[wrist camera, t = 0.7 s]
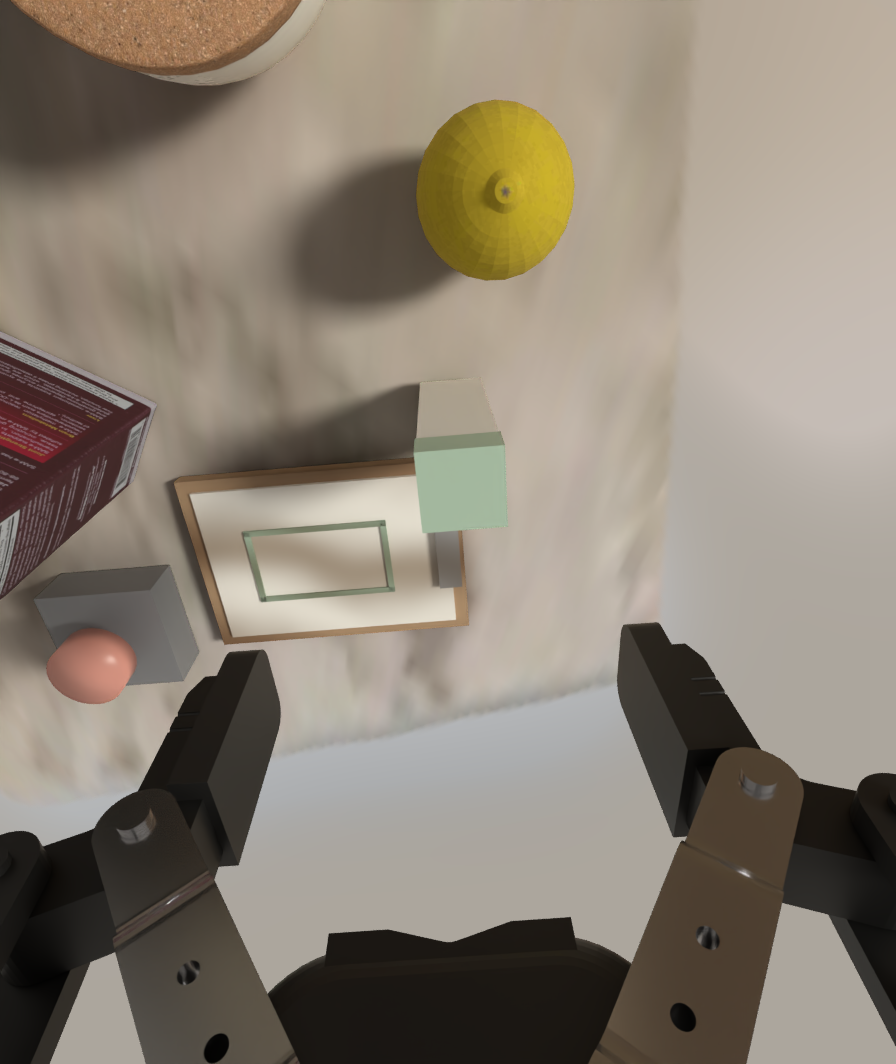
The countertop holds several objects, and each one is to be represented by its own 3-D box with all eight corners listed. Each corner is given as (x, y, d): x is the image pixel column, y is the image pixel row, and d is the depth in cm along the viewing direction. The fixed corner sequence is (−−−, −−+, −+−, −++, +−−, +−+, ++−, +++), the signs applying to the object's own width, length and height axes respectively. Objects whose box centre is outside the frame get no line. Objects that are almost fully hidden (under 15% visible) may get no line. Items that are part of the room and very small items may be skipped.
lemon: (395, 161, 24) (380, 135, 17) (523, 93, 23) (564, 34, 16) (451, 294, 26) (459, 320, 19) (568, 237, 25) (622, 242, 18)
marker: (419, 377, 28) (413, 452, 19) (480, 372, 28) (504, 445, 19) (425, 436, 29) (422, 533, 20) (483, 431, 29) (507, 526, 20)
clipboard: (179, 476, 30) (168, 487, 29) (455, 454, 30) (456, 464, 29) (228, 636, 35) (221, 651, 33) (468, 617, 34) (469, 631, 33)
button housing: (60, 573, 32) (33, 599, 30) (169, 565, 32) (150, 589, 30) (98, 660, 35) (76, 689, 33) (199, 652, 35) (183, 681, 33)
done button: (52, 630, 30) (34, 650, 28) (123, 625, 30) (109, 644, 28) (78, 686, 31) (62, 706, 30) (146, 680, 31) (133, 701, 30)
